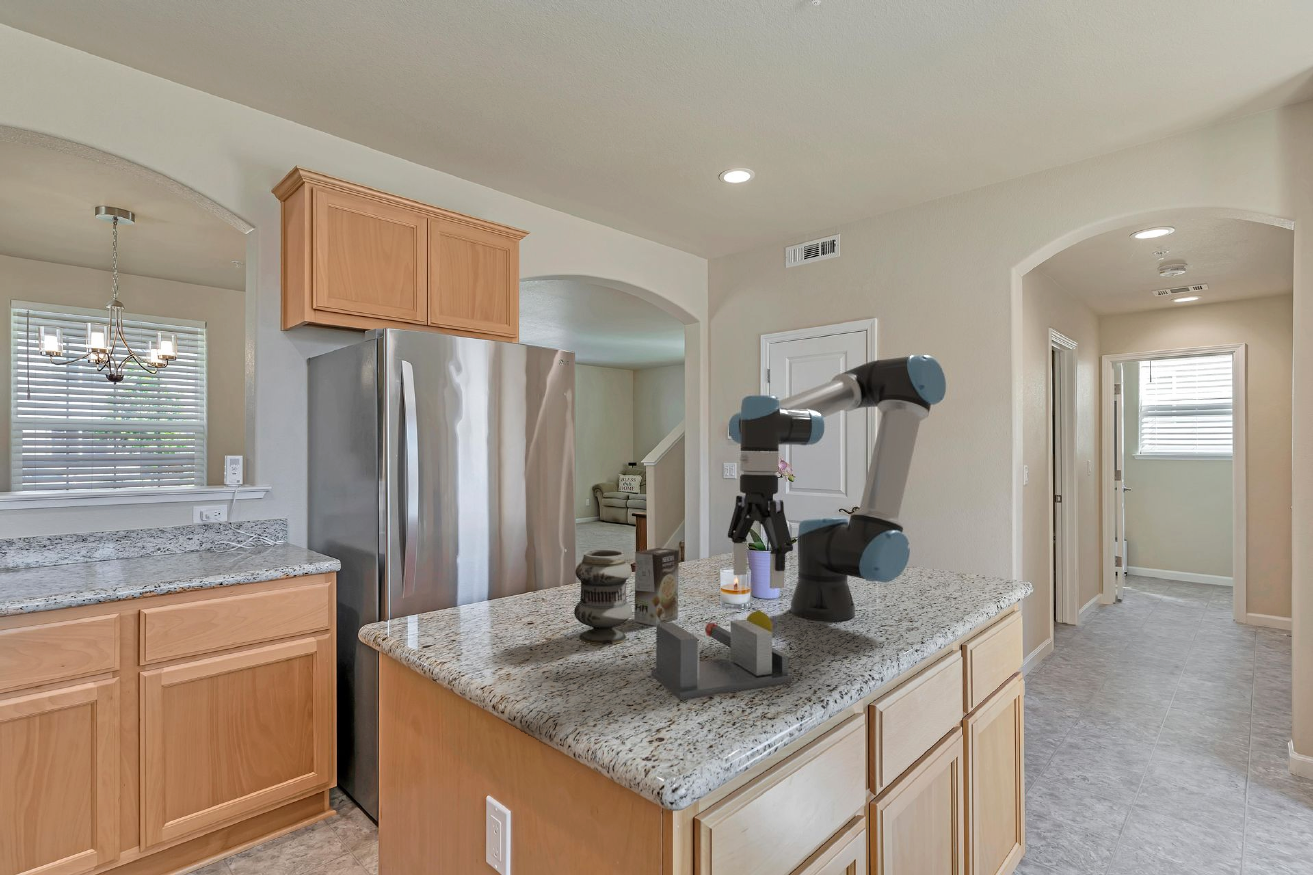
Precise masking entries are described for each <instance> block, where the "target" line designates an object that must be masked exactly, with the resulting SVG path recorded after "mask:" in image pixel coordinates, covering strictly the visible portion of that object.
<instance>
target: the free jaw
mask: <svg viewBox="0 0 1313 875" xmlns="http://www.w3.org/2000/svg"><path fill="white" fill-rule="evenodd" d="M704 632H705V634H706V636H707V637H709V638H712V639H714V640H715V641H717V642H719V643H720V644H722V645H724V646H725V647H727V648H729V649H730V658H731V660H732V661H734V662H735V663H737V664H738V665H740V666H742V667H743V668H745V669H746V670H748V671H750V672H751V673H753V674H755V675H756V676H759V675H766V674H772V648H773V634H772V632H770V631H768V630H766V629H764V628H761V627H759V626H757V625H755V624H753V623H751V622H749V621H747V620H746V619H740V620H739V619H737V620H736V619H735V620H731V621H730V631H729V630H727V629H725V628H723V627H721V626H719V625H718V624H717V623H715V622H709V623H707V624H706V626H705V628H704Z"/></svg>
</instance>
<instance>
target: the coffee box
mask: <svg viewBox="0 0 1313 875" xmlns="http://www.w3.org/2000/svg"><path fill="white" fill-rule="evenodd" d="M634 559H635V562H634V563H635V564H634V565H635V566H634V567H635V569H634V610H633V611H634V618H633V620H634V623H640V624H643V625H648V626H653V627H655V626H657V624H661V623H669V622H671V621H674V620H676V619H678V618H679V577H680V576H679V572H680V571H679V570H680V569H679V568H680V567H679V566H680V564H679V563H680V560H679V559H680V550H679V549H671V548H661V547H656V548H651V549H645V550H639V551H638V550H637V551H635V558H634Z"/></svg>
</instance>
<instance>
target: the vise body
mask: <svg viewBox="0 0 1313 875" xmlns="http://www.w3.org/2000/svg"><path fill="white" fill-rule="evenodd" d="M655 628H656V631H655V632H656V639H655V640H656V643H655V645H656V646H655V650H656V652H655V657H656V658H655V661H656V662H655V663H656V664H655V667H654V668H651V670H650V673H651V674H650V675H651V677H653V678H654V679H655V680H656V681H657V682H658V683H660V685H662V686H663V687H664V688H665V689H666V690H668V691H669V692H670V693H671V694H672V695H673V696H675V697H676V699H678V700H679V701H684V700H685V701H686V700H691V699H696V698H702V697H710V696H717V695H722V694H729V693H735V692H740V691H741V692H742V691H746V690H753V689H754V690H755V689H759V688H764V687H772V686H778V685H784V684H790V683H792V674H790V673H789V655H787V654H786V653H784V652H781V651H780V650H777V649H776V648H774V647H772V674H766V675H759V676H756V675H755V674H753V673H751V672H750V671H748V670H746V669H745V668H743V667H742V666H740V665H738V664H737V663H735V662H734V661H732V660H731V657H726V658H725V657H724V658H718V659H712V660H703V661H700V642H699V641H698V639H699V638H698V637H697V636H695V635H694V634H692V633H690V632H688V631H687V630H685V629H684V628H683V627H681V626H679V625H678V624H676V623H674V622H671V621H670V622H665V623H661V624H657V626H656V627H655Z"/></svg>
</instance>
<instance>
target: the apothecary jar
mask: <svg viewBox="0 0 1313 875" xmlns="http://www.w3.org/2000/svg"><path fill="white" fill-rule="evenodd" d="M574 571H575V576H576V578H577V579H578V580H579V581H580V599H579V600H580V601H579V602H577V604H576V605H575V607H574V611H573V614H574V617H575V619H576V620H577V621H578V622H579V623H581V624H583V625H584V626H588V627H591V629H588V630H587V631H584V632H581V633H580V634H579V636H578V639H579V641H580V640H581V641H580V642H582V641H583V642H582V643H584V642H585V643H584V644H587V643H590V644H589V645H591V644H595V645H594V646H606V645H617V644H616V643H618V644H621V643H624V641H626V639H627V636H626V634H625V633H624V632H622V631H620V630H618V629H615V627H618V626H621V625H622V624H625V623H626V622H628V620H629V619H630V618H631V616H632V614H633V608H632V606H631V604H630V603H629V602H628V601H627V580H628V579H630V577H631V575H632V574H633V570H632V567H631V565H630V564H629V563H628V562H627V561H626V559H625V553H624V552H623V551H621V550H617V549H604V548H603V549H602V548H601V549H592V550H587V551H585V552H584V553H583V558H582V561H581V562H580V563H578V565H577V566H576V568H575V570H574Z"/></svg>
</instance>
